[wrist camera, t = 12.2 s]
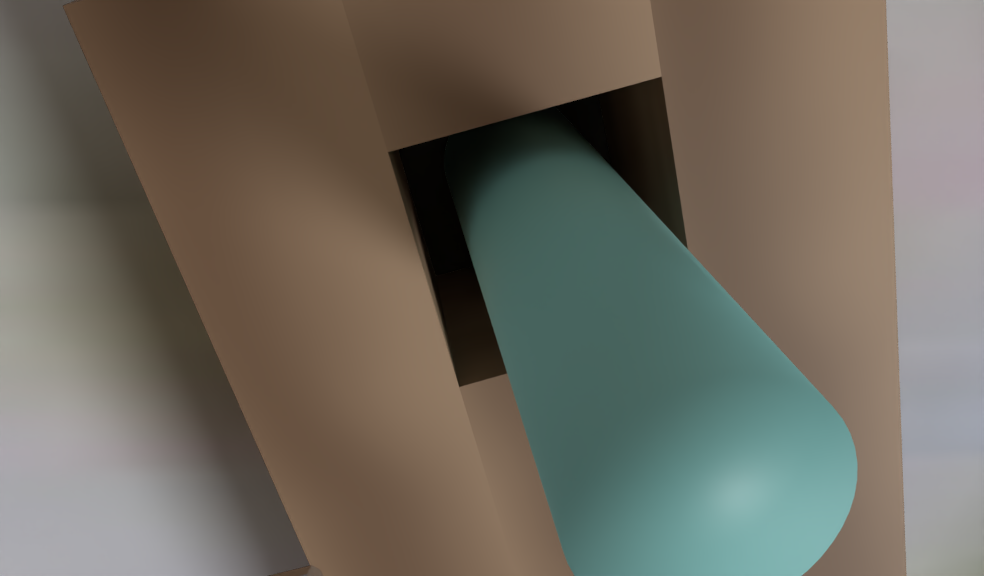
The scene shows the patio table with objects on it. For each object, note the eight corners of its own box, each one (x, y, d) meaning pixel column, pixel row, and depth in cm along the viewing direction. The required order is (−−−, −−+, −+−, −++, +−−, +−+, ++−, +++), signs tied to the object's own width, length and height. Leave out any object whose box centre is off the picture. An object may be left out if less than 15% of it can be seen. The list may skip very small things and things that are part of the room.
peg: (562, 76, 19) (849, 332, 8) (588, 203, 20) (864, 575, 9) (428, 113, 19) (529, 424, 8) (463, 238, 20) (590, 655, 9)
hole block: (739, -187, 17) (877, -214, 12) (818, 612, 27) (913, 759, 22) (141, -26, 17) (61, 6, 12) (439, 724, 26) (456, 896, 22)
